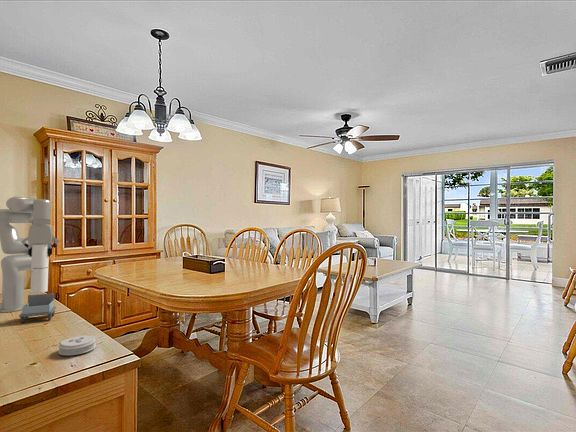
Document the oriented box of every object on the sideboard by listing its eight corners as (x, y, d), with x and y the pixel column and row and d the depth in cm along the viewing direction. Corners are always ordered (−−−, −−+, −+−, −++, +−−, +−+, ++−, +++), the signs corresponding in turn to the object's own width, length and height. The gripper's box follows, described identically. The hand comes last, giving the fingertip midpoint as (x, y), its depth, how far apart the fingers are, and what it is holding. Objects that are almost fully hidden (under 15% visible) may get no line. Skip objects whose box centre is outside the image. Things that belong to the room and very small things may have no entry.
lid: (99, 343, 135) (99, 332, 135) (91, 355, 123) (91, 342, 123) (64, 347, 131) (64, 334, 131) (52, 359, 119) (53, 346, 119)
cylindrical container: (40, 293, 163) (41, 244, 163) (26, 292, 163) (28, 244, 164) (51, 290, 170) (52, 243, 170) (37, 290, 170) (39, 243, 171)
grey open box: (25, 317, 168) (26, 295, 169) (55, 314, 174) (56, 292, 175) (19, 323, 158) (19, 300, 158) (51, 320, 164) (51, 297, 164)
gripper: (18, 222, 160) (17, 257, 160) (60, 222, 168) (59, 256, 168) (22, 222, 167) (21, 256, 166) (62, 222, 175) (61, 254, 174)
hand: (40, 255), depth 167 cm, fingers closed on cylindrical container, 7 cm apart
